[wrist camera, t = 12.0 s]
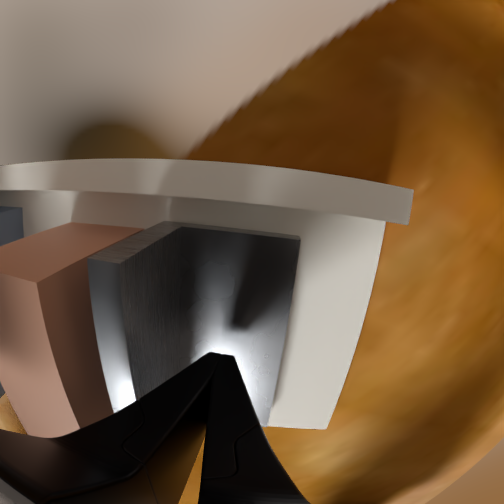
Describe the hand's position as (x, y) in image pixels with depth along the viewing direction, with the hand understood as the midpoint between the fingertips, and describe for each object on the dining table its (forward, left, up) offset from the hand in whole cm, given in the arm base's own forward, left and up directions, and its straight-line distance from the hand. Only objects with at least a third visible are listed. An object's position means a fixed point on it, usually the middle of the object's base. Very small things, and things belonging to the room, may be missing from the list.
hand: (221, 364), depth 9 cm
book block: (0, +5, -2) cm, 6 cm away
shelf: (0, +5, -3) cm, 6 cm away
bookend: (0, 0, -2) cm, 2 cm away
